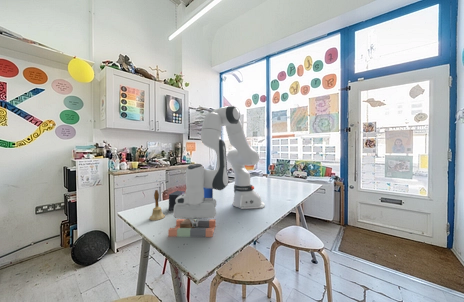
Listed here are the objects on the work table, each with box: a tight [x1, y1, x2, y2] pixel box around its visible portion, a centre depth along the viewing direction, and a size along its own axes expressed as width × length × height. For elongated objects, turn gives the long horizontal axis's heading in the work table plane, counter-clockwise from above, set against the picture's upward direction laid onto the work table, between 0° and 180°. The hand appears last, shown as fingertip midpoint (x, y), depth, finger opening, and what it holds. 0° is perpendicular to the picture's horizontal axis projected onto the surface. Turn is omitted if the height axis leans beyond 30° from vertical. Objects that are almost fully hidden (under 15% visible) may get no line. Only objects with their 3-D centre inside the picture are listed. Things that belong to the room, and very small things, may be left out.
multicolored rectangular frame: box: [167, 218, 217, 238], centre depth 84 cm, size 20×12×3 cm, turn 88°
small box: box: [168, 190, 186, 211], centre depth 115 cm, size 11×6×10 cm, turn 168°
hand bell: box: [148, 189, 166, 222], centre depth 100 cm, size 8×8×16 cm
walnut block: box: [180, 218, 196, 228], centre depth 85 cm, size 5×6×4 cm
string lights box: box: [203, 168, 214, 199], centre depth 115 cm, size 13×8×26 cm, turn 21°
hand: (195, 226), depth 84 cm, fingers closed
